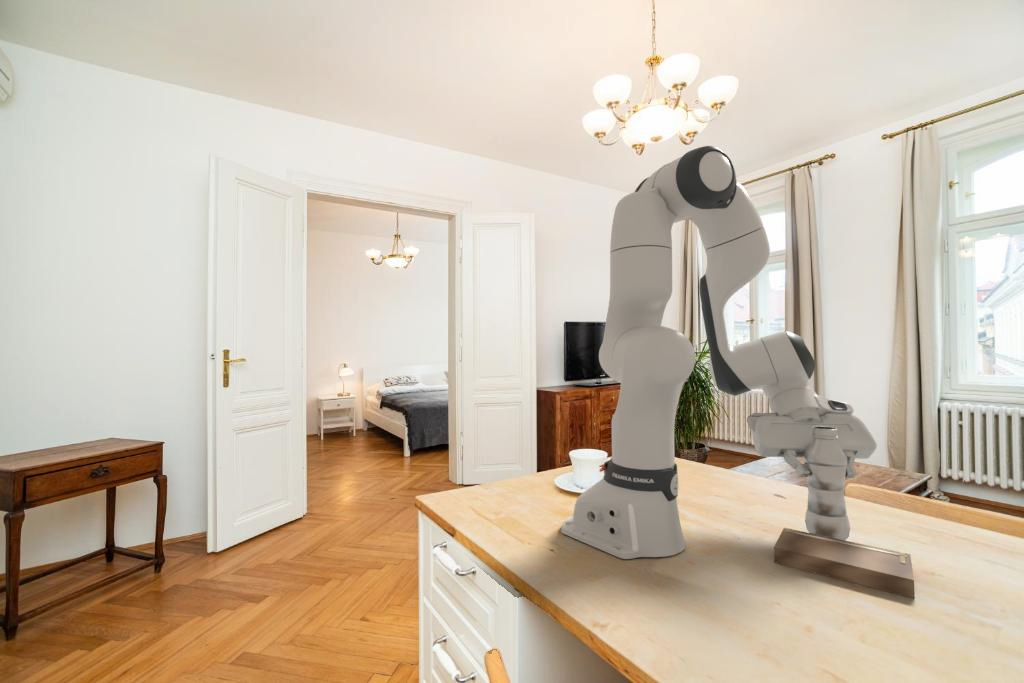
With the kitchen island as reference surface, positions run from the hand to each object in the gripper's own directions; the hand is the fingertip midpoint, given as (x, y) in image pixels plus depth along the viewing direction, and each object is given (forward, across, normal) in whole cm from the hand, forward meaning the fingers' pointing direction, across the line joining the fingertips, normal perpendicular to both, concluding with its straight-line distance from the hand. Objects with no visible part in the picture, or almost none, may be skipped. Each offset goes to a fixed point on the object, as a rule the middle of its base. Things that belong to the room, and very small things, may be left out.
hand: (827, 476), depth 80 cm
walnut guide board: (+15, -3, +2) cm, 15 cm away
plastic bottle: (+8, 0, +9) cm, 12 cm away
